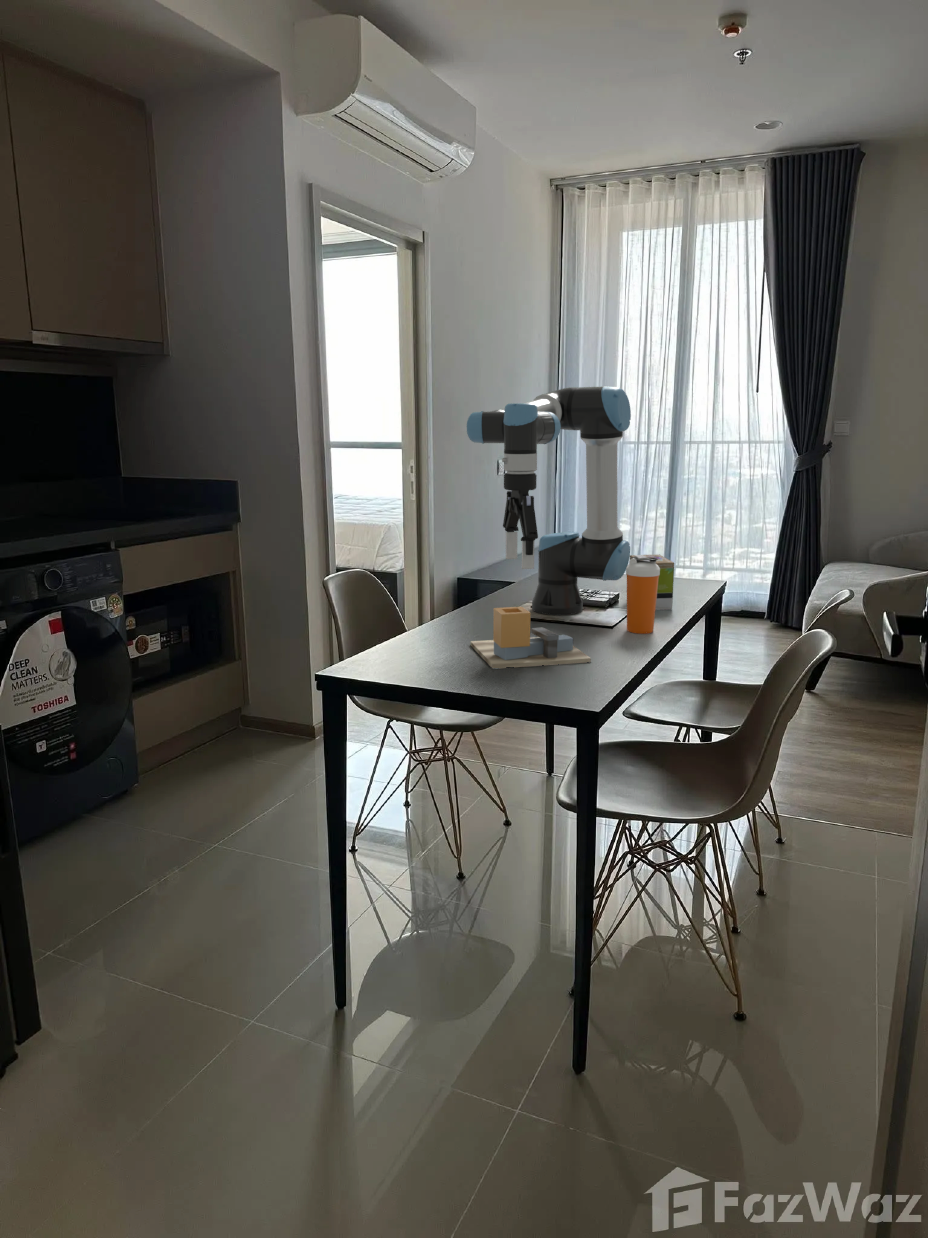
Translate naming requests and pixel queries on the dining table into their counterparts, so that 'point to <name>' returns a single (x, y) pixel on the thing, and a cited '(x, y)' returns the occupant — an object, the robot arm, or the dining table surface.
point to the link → (532, 648)
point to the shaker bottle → (641, 594)
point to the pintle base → (547, 658)
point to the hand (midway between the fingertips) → (519, 563)
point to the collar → (511, 627)
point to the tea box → (663, 581)
